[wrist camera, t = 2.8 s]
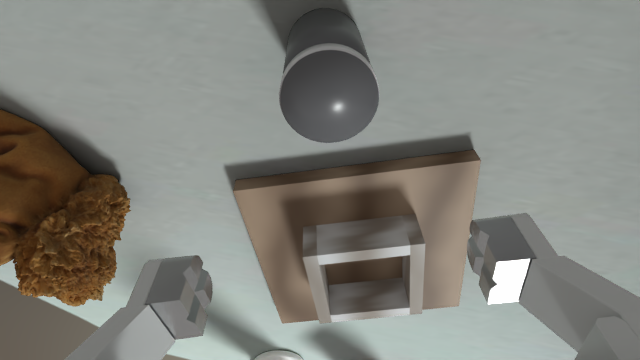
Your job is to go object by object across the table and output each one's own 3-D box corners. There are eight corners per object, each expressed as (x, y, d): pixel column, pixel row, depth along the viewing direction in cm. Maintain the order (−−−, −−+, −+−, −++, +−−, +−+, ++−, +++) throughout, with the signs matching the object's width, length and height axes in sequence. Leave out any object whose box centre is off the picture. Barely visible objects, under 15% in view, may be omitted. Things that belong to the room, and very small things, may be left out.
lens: (359, 1, 23) (377, 42, 17) (364, 78, 27) (382, 136, 20) (279, 14, 24) (268, 58, 18) (294, 88, 27) (289, 149, 21)
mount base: (474, 149, 30) (498, 188, 27) (454, 294, 43) (469, 335, 39) (235, 180, 32) (225, 220, 28) (282, 311, 44) (280, 353, 40)
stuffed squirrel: (-35, 91, 27) (-256, 220, 16) (163, 168, 31) (89, 307, 21) (-34, 187, 32) (-200, 331, 21) (135, 240, 36) (65, 381, 26)
